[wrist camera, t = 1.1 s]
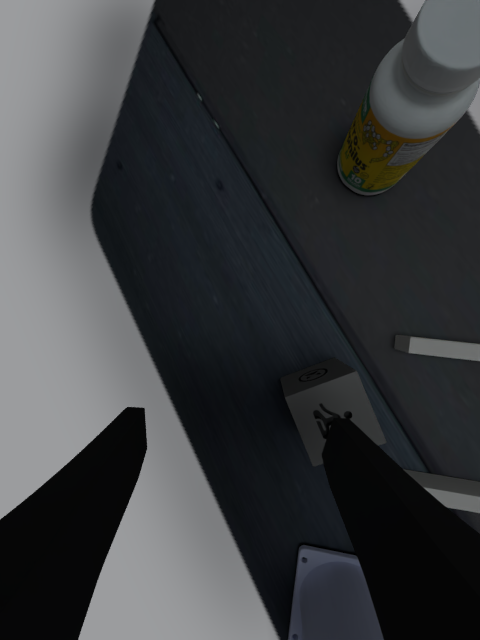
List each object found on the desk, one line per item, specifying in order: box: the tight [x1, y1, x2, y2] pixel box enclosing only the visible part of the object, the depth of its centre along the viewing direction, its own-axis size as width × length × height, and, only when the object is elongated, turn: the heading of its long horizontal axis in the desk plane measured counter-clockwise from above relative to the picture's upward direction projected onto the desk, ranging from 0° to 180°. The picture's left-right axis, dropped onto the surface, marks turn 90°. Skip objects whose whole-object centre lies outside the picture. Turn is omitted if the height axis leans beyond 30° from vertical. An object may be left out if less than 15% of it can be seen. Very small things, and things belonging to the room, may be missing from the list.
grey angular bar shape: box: [394, 335, 480, 513], centre depth 18 cm, size 12×10×2 cm
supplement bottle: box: [337, 0, 480, 195], centre depth 15 cm, size 5×5×10 cm
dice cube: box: [280, 358, 387, 467], centre depth 18 cm, size 5×5×5 cm
